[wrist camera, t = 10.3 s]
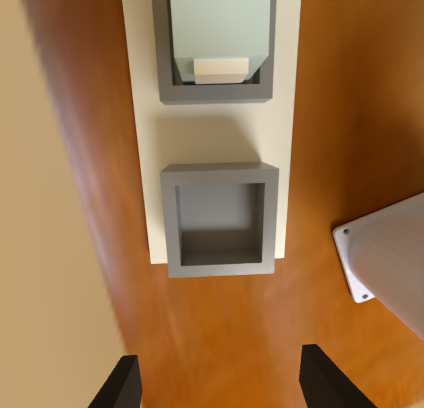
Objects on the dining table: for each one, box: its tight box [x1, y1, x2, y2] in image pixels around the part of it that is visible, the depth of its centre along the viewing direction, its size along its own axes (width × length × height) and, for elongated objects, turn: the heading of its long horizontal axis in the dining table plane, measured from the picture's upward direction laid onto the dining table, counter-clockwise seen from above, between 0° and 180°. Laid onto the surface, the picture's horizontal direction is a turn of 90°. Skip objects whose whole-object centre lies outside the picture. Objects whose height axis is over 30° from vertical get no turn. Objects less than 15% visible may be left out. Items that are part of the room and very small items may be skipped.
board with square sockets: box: [122, 0, 301, 278], centre depth 15 cm, size 20×11×5 cm, turn 1°
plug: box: [171, 0, 270, 85], centre depth 12 cm, size 5×4×6 cm
